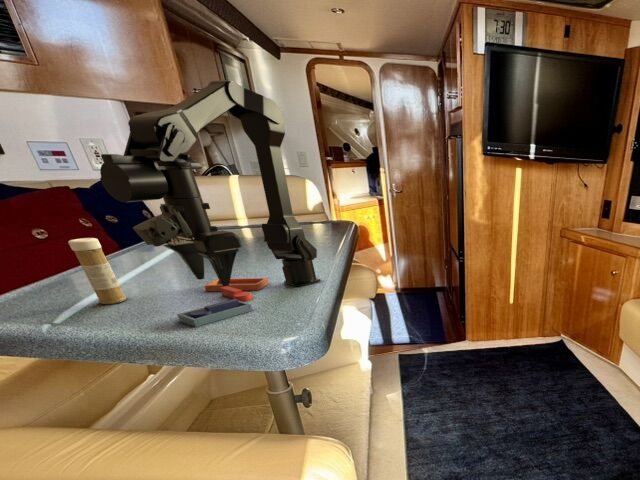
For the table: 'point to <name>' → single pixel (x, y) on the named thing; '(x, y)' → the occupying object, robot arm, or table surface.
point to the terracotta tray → (239, 284)
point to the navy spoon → (215, 308)
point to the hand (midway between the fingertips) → (213, 282)
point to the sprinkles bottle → (97, 270)
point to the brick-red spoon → (236, 293)
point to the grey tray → (214, 315)
